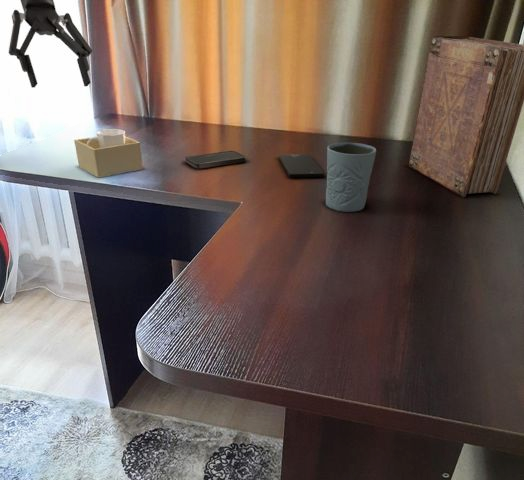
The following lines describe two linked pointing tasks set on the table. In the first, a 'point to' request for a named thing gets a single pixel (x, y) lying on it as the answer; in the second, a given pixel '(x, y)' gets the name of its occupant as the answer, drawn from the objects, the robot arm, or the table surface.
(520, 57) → the book
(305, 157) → the cell phone
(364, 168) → the grey embossed tumbler
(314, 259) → the table surface
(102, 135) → the cup
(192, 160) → the phone
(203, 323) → the table surface
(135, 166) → the tan open box
